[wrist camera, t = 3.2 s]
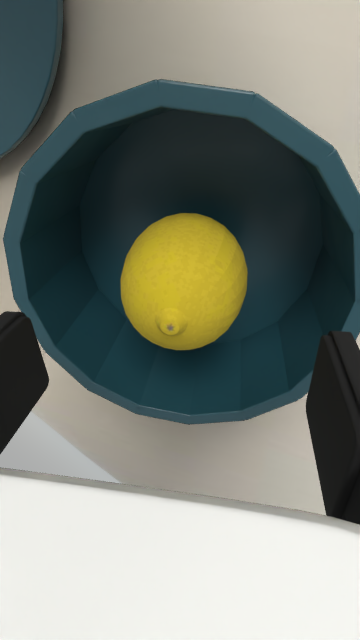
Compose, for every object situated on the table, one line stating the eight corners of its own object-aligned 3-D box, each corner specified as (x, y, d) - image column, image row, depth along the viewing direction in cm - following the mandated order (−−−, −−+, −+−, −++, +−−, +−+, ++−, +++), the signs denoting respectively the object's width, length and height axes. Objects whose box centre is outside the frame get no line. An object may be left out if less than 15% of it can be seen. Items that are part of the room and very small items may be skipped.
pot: (42, 278, 22) (-23, 335, 17) (134, 13, 14) (70, -38, 9) (232, 380, 24) (229, 460, 19) (401, 199, 16) (478, 247, 11)
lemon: (234, 299, 20) (231, 398, 14) (142, 282, 20) (94, 371, 14) (258, 204, 17) (268, 271, 10) (149, 186, 17) (92, 240, 11)
